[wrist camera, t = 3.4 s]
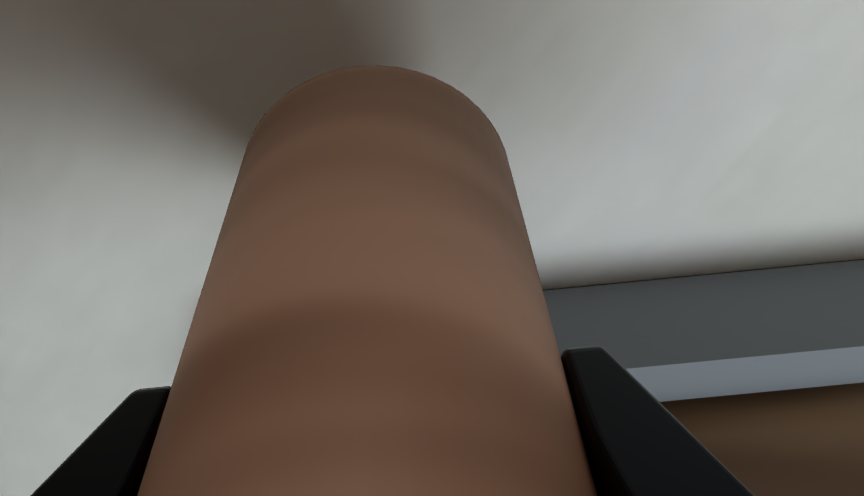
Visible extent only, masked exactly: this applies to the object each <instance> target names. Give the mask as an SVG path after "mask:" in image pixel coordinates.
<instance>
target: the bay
mask: <svg viewBox="0 0 864 496" xmlns="http://www.w3.org/2000/svg"><path fill="white" fill-rule="evenodd" d="M543 293H544V297H545V301H546V305H547V308H548V312H549V316H550V320H551V323H552V327H553V331H554V335H555V338H556V342H557V346H558V350H559V353H560V357H561V354H562V352H563V351H564V350H565V349H567V348H573V347H584V346H594V345H597V346H601V347H603V348H604V349H606V350H607V351H608V352H609V353H610V354H611V355H612V356H613V357H614V358H615V359H616V360H617V361H618V362H619V363H620V364H621V365H622V366H623V367H624V368H625V369H626V370H627V371H628V372H629V373H630V374H631V375H632V376H633V377H634V378H635V379H636V380H637V381H639V382H640V383H641V384H642V385H643V386H644V387H645V388H646V389H647V390H648V391H649V392H650V393H651V394H652V395H653V396H654V397H655V398H656V399H657V400H658V401H659V402H663V401H674V400H684V399H695V398H705V397H716V396H726V395H737V394H747V393H758V392H768V391H779V390H789V389H800V388H810V387H821V386H831V385H842V384H852V383H863V382H864V260H857V261H846V262H836V263H826V264H815V265H805V266H794V267H784V268H774V269H763V270H753V271H743V272H732V273H722V274H712V275H701V276H691V277H681V278H670V279H660V280H649V281H639V282H629V283H618V284H608V285H598V286H587V287H577V288H567V289H556V290H546V291H543Z"/></svg>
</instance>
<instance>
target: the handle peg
mask: <svg viewBox="0 0 864 496" xmlns="http://www.w3.org/2000/svg"><path fill="white" fill-rule="evenodd" d="M137 496H597V492H596V488H595V484H594V481H593V477H592V473H591V469H590V466H589V462H588V458H587V454H586V451H585V447H584V443H583V440H582V436H581V432H580V428H579V425H578V421H577V417H576V413H575V410H574V406H573V402H572V398H571V395H570V391H569V387H568V383H567V380H566V376H565V372H564V368H563V365H562V361H561V357H560V353H559V350H558V346H557V342H556V338H555V335H554V331H553V327H552V323H551V320H550V316H549V312H548V308H547V305H546V301H545V297H544V293H543V290H542V286H541V282H540V278H539V275H538V271H537V267H536V264H535V260H534V256H533V252H532V249H531V245H530V241H529V237H528V234H527V230H526V226H525V222H524V219H523V215H522V211H521V207H520V204H519V200H518V196H517V192H516V189H515V185H514V181H513V177H512V174H511V170H510V166H509V162H508V159H507V155H506V151H505V148H504V146H503V144H502V141H501V139H500V137H499V135H498V133H497V131H496V130H495V128H494V126H493V125H492V123H491V122H490V120H489V119H488V118H487V117H486V115H485V114H484V113H483V112H482V111H481V110H480V108H479V107H478V106H476V105H475V104H474V103H473V102H472V101H471V100H470V99H469V98H468V97H466V96H465V95H464V94H462V93H461V92H459V91H458V90H456V89H455V88H453V87H452V86H450V85H448V84H446V83H444V82H442V81H440V80H438V79H436V78H434V77H431V76H428V75H426V74H423V73H420V72H417V71H413V70H408V69H403V68H399V67H389V66H358V67H351V68H345V69H339V70H336V71H333V72H329V73H326V74H323V75H320V76H318V77H315V78H313V79H311V80H309V81H306V82H304V83H303V84H301V85H299V86H298V87H296V88H295V89H293V90H291V91H290V92H288V93H287V94H286V95H285V96H283V97H282V98H281V99H280V100H279V101H277V102H276V103H275V104H274V105H273V106H272V107H271V108H270V110H269V111H268V112H267V113H266V114H265V115H264V116H263V118H262V119H261V121H260V122H259V124H258V125H257V127H256V128H255V130H254V132H253V134H252V136H251V138H250V141H249V143H248V145H247V148H246V151H245V155H244V158H243V161H242V164H241V167H240V171H239V174H238V177H237V180H236V183H235V186H234V190H233V193H232V196H231V199H230V202H229V205H228V209H227V212H226V215H225V218H224V221H223V225H222V228H221V231H220V234H219V237H218V240H217V244H216V247H215V250H214V253H213V256H212V260H211V263H210V266H209V269H208V272H207V275H206V279H205V282H204V285H203V288H202V291H201V295H200V298H199V301H198V304H197V307H196V310H195V314H194V317H193V320H192V323H191V326H190V330H189V333H188V336H187V339H186V342H185V345H184V349H183V352H182V355H181V358H180V361H179V365H178V368H177V371H176V374H175V377H174V380H173V384H172V387H171V390H170V393H169V396H168V400H167V403H166V406H165V409H164V412H163V415H162V419H161V422H160V425H159V428H158V431H157V435H156V438H155V441H154V444H153V447H152V450H151V454H150V457H149V460H148V463H147V466H146V469H145V473H144V476H143V479H142V482H141V485H140V489H139V492H138V495H137Z"/></svg>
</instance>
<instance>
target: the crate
mask: <svg viewBox="0 0 864 496" xmlns="http://www.w3.org/2000/svg"><path fill="white" fill-rule="evenodd" d="M660 403H661V404H662V405H663V406H664V407H665V408H666V409H667V410H668V411H669V412H670V413H671V414H672V415H673V416H674V417H675V418H676V419H677V420H678V421H679V422H680V423H682V424H683V425H684V426H685V427H686V428H687V429H688V430H689V431H690V432H691V433H692V434H693V435H694V436H695V437H696V438H697V439H698V440H699V441H700V442H701V443H702V444H703V445H704V446H705V447H706V448H707V449H708V450H709V451H710V452H711V453H712V454H713V455H714V456H715V457H716V458H717V459H718V460H719V461H720V462H721V463H722V464H723V465H724V466H726V467H727V468H728V469H729V470H730V471H731V472H732V473H733V474H734V475H735V476H736V477H737V478H738V479H739V480H740V481H741V482H742V483H743V484H744V485H745V486H746V487H747V488H748V489H749V490H750V491H751V492H752V493H753V494H754V495H755V496H864V382H863V383H852V384H842V385H831V386H821V387H810V388H800V389H789V390H779V391H768V392H758V393H747V394H737V395H726V396H716V397H705V398H695V399H684V400H674V401H663V402H660Z"/></svg>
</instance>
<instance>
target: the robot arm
mask: <svg viewBox="0 0 864 496" xmlns="http://www.w3.org/2000/svg"><path fill="white" fill-rule="evenodd" d="M561 361H562V365H563V368H564V372H565V376H566V380H567V383H568V387H569V391H570V395H571V398H572V402H573V406H574V410H575V413H576V417H577V421H578V425H579V428H580V432H581V436H582V440H583V443H584V447H585V451H586V454H587V458H588V462H589V466H590V469H591V473H592V477H593V481H594V484H595V488H596V492H597V496H755V495H754V494H753V493H752V492H751V491H750V490H749V489H748V488H747V487H746V486H745V485H744V484H743V483H742V482H741V481H740V480H739V479H738V478H737V477H736V476H735V475H734V474H733V473H732V472H731V471H730V470H729V469H728V468H727V467H726V466H724V465H723V464H722V463H721V462H720V461H719V460H718V459H717V458H716V457H715V456H714V455H713V454H712V453H711V452H710V451H709V450H708V449H707V448H706V447H705V446H704V445H703V444H702V443H701V442H700V441H699V440H698V439H697V438H696V437H695V436H694V435H693V434H692V433H691V432H690V431H689V430H688V429H687V428H686V427H685V426H684V425H683V424H682V423H680V422H679V421H678V420H677V419H676V418H675V417H674V416H673V415H672V414H671V413H670V412H669V411H668V410H667V409H666V408H665V407H664V406H663V405H662V404H661V403H660V402H659V401H658V400H657V399H656V398H655V397H654V396H653V395H652V394H651V393H650V392H649V391H648V390H647V389H646V388H645V387H644V386H643V385H642V384H641V383H640V382H639V381H637V380H636V379H635V378H634V377H633V376H632V375H631V374H630V373H629V372H628V371H627V370H626V369H625V368H624V367H623V366H622V365H621V364H620V363H619V362H618V361H617V360H616V359H615V358H614V357H613V356H612V355H611V354H610V353H609V352H608V351H607V350H606V349H604V348H603V347H601V346H597V345H594V346H584V347H573V348H567V349H565V350H564V351H563V352H562V354H561ZM170 390H171V387H170V386H165V387H155V388H145V389H139V390H136V391H134V392H133V393H131V394H130V395H129V396H128V397H127V398H126V399H125V400H124V401H123V402H122V403H121V404H120V405H119V406H118V407H117V408H116V409H115V410H114V411H113V412H112V413H111V414H110V415H109V416H108V417H107V418H106V419H105V420H104V421H103V422H102V423H101V424H100V425H99V426H98V427H97V428H96V429H95V430H94V431H93V433H92V434H91V435H90V436H89V437H88V438H87V439H86V440H85V441H84V442H83V443H82V444H81V445H80V446H79V447H78V448H77V449H76V450H75V451H74V452H73V453H72V454H71V455H70V456H69V457H68V458H67V459H66V460H65V461H64V462H63V463H62V464H61V465H60V466H59V467H58V468H57V469H56V470H55V471H54V472H53V473H52V474H51V475H50V476H49V477H48V478H47V479H46V480H45V481H44V482H43V483H42V484H41V485H40V487H39V488H38V489H37V490H36V491H35V492H34V493H33V494H32V495H31V496H137V495H138V492H139V489H140V485H141V482H142V479H143V476H144V473H145V469H146V466H147V463H148V460H149V457H150V454H151V450H152V447H153V444H154V441H155V438H156V435H157V431H158V428H159V425H160V422H161V419H162V415H163V412H164V409H165V406H166V403H167V400H168V396H169V393H170Z"/></svg>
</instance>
